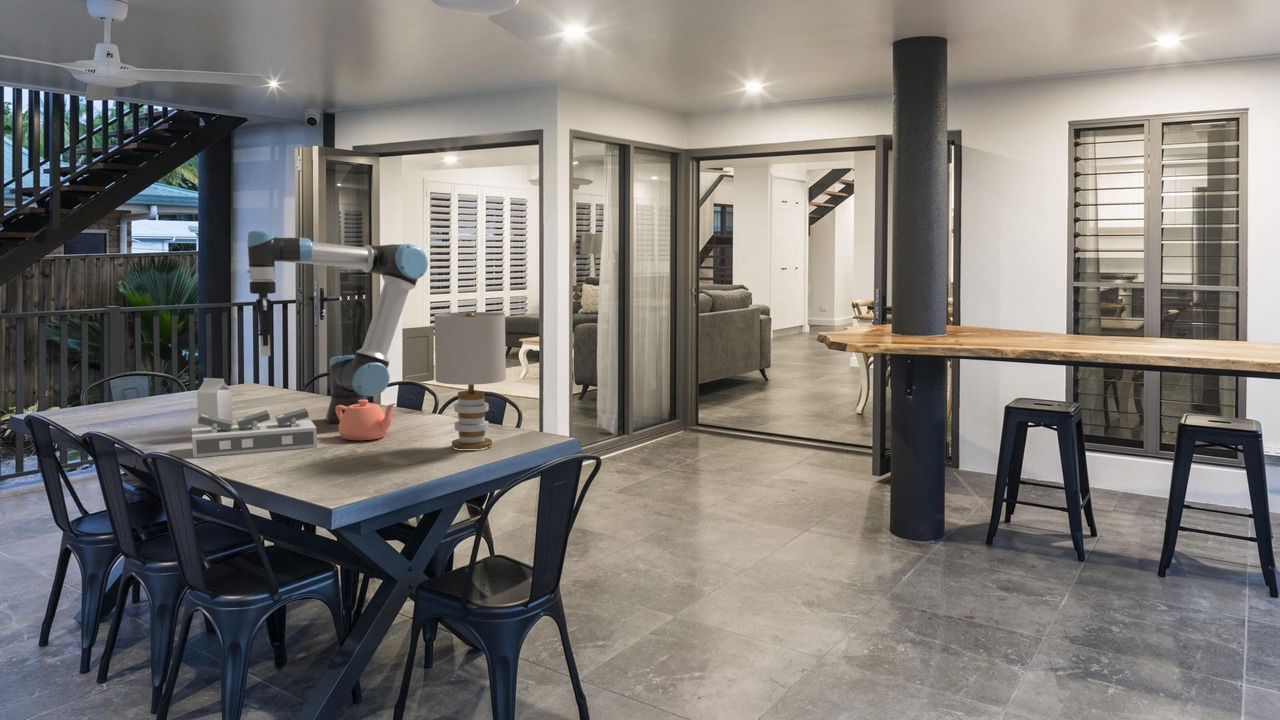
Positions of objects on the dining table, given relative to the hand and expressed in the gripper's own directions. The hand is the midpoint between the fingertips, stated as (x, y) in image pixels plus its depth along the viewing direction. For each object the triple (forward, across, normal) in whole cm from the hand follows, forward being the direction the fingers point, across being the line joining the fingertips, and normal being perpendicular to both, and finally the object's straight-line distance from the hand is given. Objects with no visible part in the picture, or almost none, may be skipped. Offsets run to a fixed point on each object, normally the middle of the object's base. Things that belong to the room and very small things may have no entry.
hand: (265, 355), depth 291 cm
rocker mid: (+18, +13, -5) cm, 23 cm away
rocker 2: (+18, +13, +6) cm, 23 cm away
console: (+26, +13, -5) cm, 30 cm away
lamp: (+27, +40, +55) cm, 73 cm away
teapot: (+27, +12, +28) cm, 41 cm away
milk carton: (+27, -9, -15) cm, 32 cm away
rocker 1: (+18, +13, -16) cm, 28 cm away
